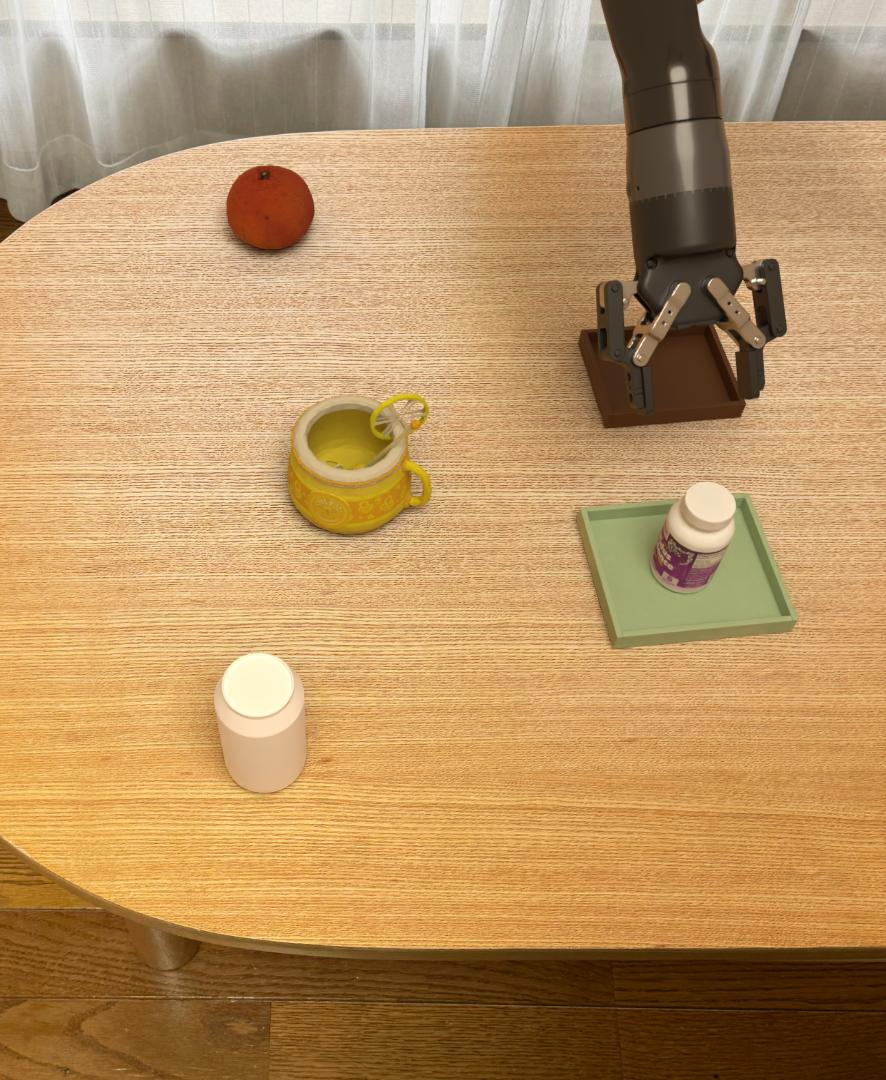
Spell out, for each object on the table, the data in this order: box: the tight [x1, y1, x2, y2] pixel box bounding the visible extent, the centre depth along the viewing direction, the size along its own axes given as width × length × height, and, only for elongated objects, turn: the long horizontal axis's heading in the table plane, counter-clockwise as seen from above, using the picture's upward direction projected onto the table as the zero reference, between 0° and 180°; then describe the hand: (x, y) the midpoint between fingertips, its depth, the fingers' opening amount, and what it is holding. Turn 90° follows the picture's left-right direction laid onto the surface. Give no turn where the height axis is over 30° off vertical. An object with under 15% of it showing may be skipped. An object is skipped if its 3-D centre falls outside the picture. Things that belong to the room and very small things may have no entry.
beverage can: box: [213, 652, 308, 794], centre depth 84 cm, size 6×6×12 cm
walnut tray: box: [577, 324, 747, 429], centre depth 111 cm, size 13×11×2 cm
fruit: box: [225, 164, 316, 250], centre depth 120 cm, size 9×9×8 cm
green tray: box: [576, 492, 799, 650], centre depth 98 cm, size 15×13×2 cm
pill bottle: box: [650, 481, 736, 593], centre depth 95 cm, size 5×5×10 cm
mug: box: [286, 392, 433, 535], centre depth 98 cm, size 13×11×12 cm
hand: (698, 406), depth 91 cm, fingers open, 8 cm apart
